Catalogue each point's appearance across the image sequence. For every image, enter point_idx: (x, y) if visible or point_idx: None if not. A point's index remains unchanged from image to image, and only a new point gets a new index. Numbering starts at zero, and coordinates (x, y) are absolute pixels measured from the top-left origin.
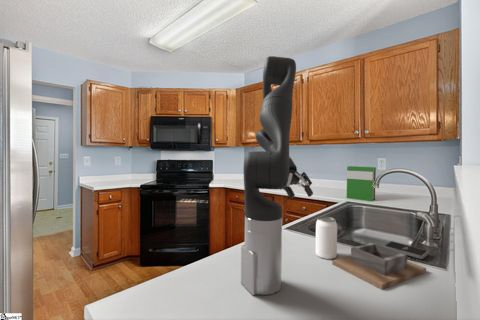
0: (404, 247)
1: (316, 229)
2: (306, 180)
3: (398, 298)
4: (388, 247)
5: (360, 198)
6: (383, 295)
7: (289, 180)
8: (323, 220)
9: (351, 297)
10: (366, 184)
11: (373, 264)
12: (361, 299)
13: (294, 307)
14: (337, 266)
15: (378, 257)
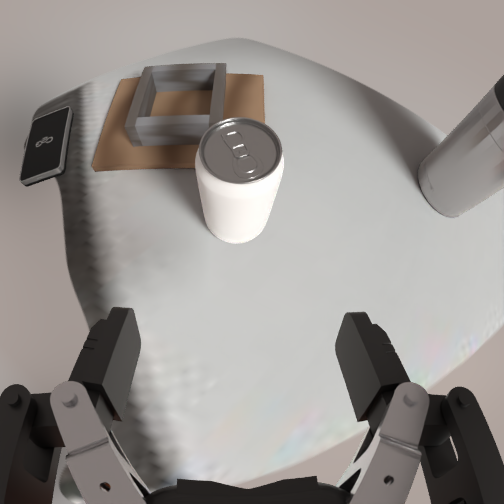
0: (41, 144)
1: (277, 189)
2: (19, 471)
3: (262, 65)
4: (61, 158)
5: None
6: (276, 75)
7: (400, 453)
8: (263, 148)
9: (329, 93)
10: None
11: (224, 91)
12: (318, 85)
13: (417, 125)
14: None
15: (218, 74)
